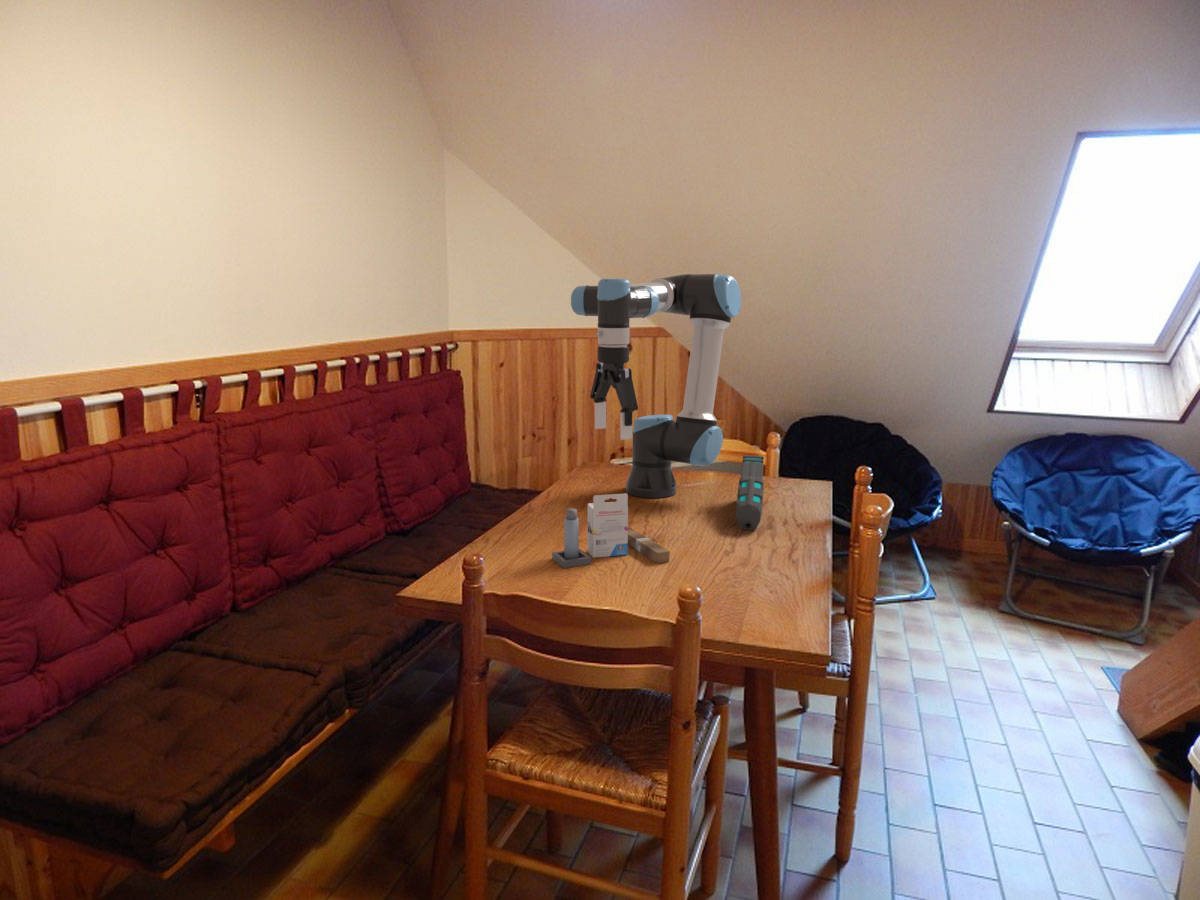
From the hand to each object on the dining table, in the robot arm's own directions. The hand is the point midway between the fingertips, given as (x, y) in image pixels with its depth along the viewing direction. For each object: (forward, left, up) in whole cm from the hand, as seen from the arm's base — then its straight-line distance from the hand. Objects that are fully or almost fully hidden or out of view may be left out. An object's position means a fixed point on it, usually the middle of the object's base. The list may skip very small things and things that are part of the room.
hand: (612, 433), depth 186 cm
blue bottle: (+14, -17, -25) cm, 34 cm away
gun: (0, +42, -26) cm, 49 cm away
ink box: (+12, -7, -26) cm, 29 cm away
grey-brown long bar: (+11, +2, -25) cm, 28 cm away
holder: (+14, -17, -25) cm, 34 cm away
